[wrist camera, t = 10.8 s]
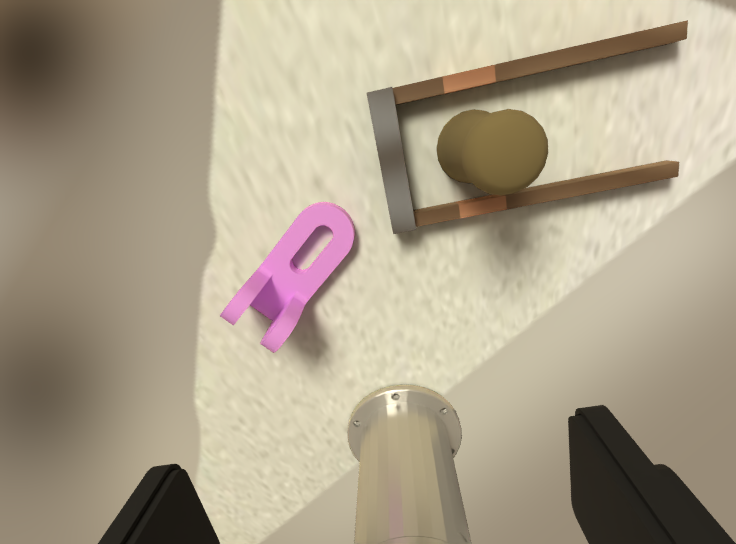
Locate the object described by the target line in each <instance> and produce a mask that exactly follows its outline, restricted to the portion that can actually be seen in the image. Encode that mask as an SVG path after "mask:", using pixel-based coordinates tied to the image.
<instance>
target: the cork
mask: <svg viewBox="0 0 736 544" xmlns="http://www.w3.org/2000/svg"><path fill="white" fill-rule="evenodd" d="M437 155H438V161H439V163H440V165H441V167H442V169H443V170H444V171H445V172H446V173H447V174H448V176H449V177H451V178H453V179H455V180H457V181H459V182H465V183H473V184H474V185H475V186H476V187H477V188H478V189H480V190H482V191H484V192H486V193H488V194H494V195H506V194H512V193H516V192H518V191H520V190H522V189H524V188H526V187H528V186H529V185H530V184H531V183H532V182H533V181H534V180H535V179H536V178H538V176H539V174H540V173H541V171H542V169H543V168H544V166H545V163H546V159H547V155H548V139H547V137H546V134H545V132H544V129H543V127H542V126H541V125H540V124H539V123H538V122H537V120H536V119H535V118H534V117H532V116H530V115H528V114H527V113H525V112H523V111H518V110H511V109H507V110H502V111H497V112H492V113H489V112H487V111H482V110H475V109H474V110H469V111H464V112H461V113H460V114H458V115H456V116H454V117H453V118H452V119H451V120H450V121H449V122H448V123H447V124H446V125H445V126H444V128H443V130H442V131H441V133H440V135H439V138H438V144H437Z"/></svg>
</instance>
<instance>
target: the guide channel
mask: <svg viewBox="0 0 736 544" xmlns="http://www.w3.org/2000/svg"><path fill="white" fill-rule="evenodd" d="M687 25H688V20H687V21H683V22H679V23H674V24H670V25H666V26H661V27H657V28H653V29H648V30H644V31H639V32H635V33H631V34H626V35H622V36H618V37H613V38H609V39H605V40H600V41H596V42H592V43H587V44H583V45H578V46H574V47H570V48H565V49H561V50H557V51H552V52H548V53H544V54H539V55H535V56H530V57H526V58H522V59H517V60H513V61H509V62H504V63H500V64H496V65H491V66H487V67H483V68H478V69H474V70H469V71H465V72H461V73H456V74H452V75H448V76H443V77H439V78H435V79H430V80H426V81H421V82H417V83H413V84H408V85H404V86H400V87H395V88H392V87H390V88H386V89H381V90H377V91H373V92H368V93H367V97H368V103H369V108H370V113H371V119H372V124H373V129H374V134H375V140H376V145H377V150H378V156H379V161H380V166H381V171H382V177H383V182H384V187H385V193H386V198H387V203H388V208H389V214H390V219H391V224H392V230H393V234H396V233H402V232H407V231H412V230H416V227H418V226H423V225H428V224H433V223H439V222H444V221H449V220H454V219H460V218H465V217H470V216H475V215H480V214H486V213H491V212H496V211H501V210H506V209H512V208H517V207H522V206H527V205H533V204H538V203H543V202H548V201H553V200H559V199H564V198H569V197H574V196H579V195H585V194H590V193H595V192H600V191H606V190H611V189H616V188H621V187H626V186H632V185H637V184H642V183H647V182H652V181H658V180H663V179H668V178H673V177H678V172H679V162H676V161H661V162H656V163H651V164H646V165H641V166H636V167H631V168H626V169H621V170H616V171H611V172H605V173H600V174H595V175H590V176H585V177H580V178H575V179H570V180H565V181H560V182H554V183H549V184H544V185H539V186H534V187H529V188H524V189H522V190H520V191H518V192H516V193H512V194H506V195H494V194H493V195H488V196H483V197H478V198H473V199H468V200H463V201H458V202H453V203H447V204H442V205H437V206H432V207H427V208H422V209H417V210H413V208H412V202H411V196H410V190H409V184H408V178H407V172H406V166H405V160H404V154H403V148H402V142H401V136H400V130H399V124H398V118H397V112H396V107H395V105H399V104H403V103H408V102H412V101H417V100H421V99H426V98H430V97H434V96H439V95H443V94H448V93H452V92H457V91H461V90H466V89H470V88H474V87H479V86H483V85H488V84H492V83H497V82H501V81H506V80H510V79H515V78H519V77H523V76H528V75H532V74H537V73H541V72H546V71H550V70H555V69H559V68H563V67H568V66H572V65H577V64H581V63H586V62H590V61H595V60H599V59H604V58H608V57H612V56H617V55H621V54H626V53H630V52H635V51H639V50H644V49H648V48H652V47H657V46H661V45H666V44H670V43H674V42H678V41H681V40H684V39H687Z"/></svg>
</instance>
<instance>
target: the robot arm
mask: <svg viewBox="0 0 736 544" xmlns="http://www.w3.org/2000/svg"><path fill="white" fill-rule="evenodd" d="M568 420H569V421H568V423H569V424H568V425H569V450H570V475H571V476H570V477H571V501H572V507H573V510H574V513H575V516H576V519H577V520H578V523H579V525H580V527H581V529H582V531H583V533H584V535H585V537H586V539H587V541H588V543H589V544H736V543H735V542H734V541H733V540H732V539H731V538H730V537H729V535H728V534H727V533H726V532H725V530H724V529H723V528H722V527H721V526H720V525H719V523H718V522H717V521H716V520H715V519H714V518H713V516H712V515H711V514H710V513H709V512H708V511H707V509H706V508H705V507H704V506H703V505H702V504H701V503H700V501H699V500H698V499H697V498H696V497H695V495H694V494H693V493H692V492H691V491H690V490H689V488H688V487H687V486H686V485H685V484H684V483H683V481H682V480H681V479H680V478H679V477H678V476H677V474H675V472H673V471H672V470H671V469H670V468H669V467H667V466H666V465H663V464H658V465H653V463H652V462H651V461H650V460H649V459H648V457H647V456H646V455H645V454H644V452H643V451H642V450H641V449H640V448H639V446H638V445H637V444H636V443H635V441H634V440H633V439H632V438H631V436H630V435H629V434H628V433H627V431H626V430H625V429H624V428H623V426H622V425H621V424H620V423H619V422H618V420H617V419H616V418H615V417H614V415H613V414H612V413H611V412H610V410H609V409H608V408H607V407H606V406H604V405H600V406H592V407H585V408H578V409H576V411H575V416H570V417H569V419H568ZM461 439H462V435H461V426H460V422H459V418H458V416H457V413H456V411H455V410H454V408H453V407H452V405H451V404H450V403H449V402H448V401H447V400H446V399H444V397H442V396H441V395H439V394H437V393H436V392H434V391H432V390H429V389H427V388H424V387H419V386H415V385H395V386H389V387H385V388H382V389H379V390H377V391H375V392H373V393H371V394H369V395H368V396H367V397H365V398H364V399H363V400H362V401H361V402H360V403H359V404H358V405H357V406H356V407H355V409H354V411H353V412H352V414H351V417H350V420H349V425H348V442H349V446H350V449H351V451H352V453H353V455H354V456H355V458H356V459H357V460H358V461H359V462H360V463H359V478H358V493H357V508H356V523H355V537H354V544H471V540H470V534H469V530H468V525H467V520H466V516H465V511H464V507H463V502H462V497H461V493H460V488H459V484H458V479H457V474H456V470H455V465H454V460H453V458H454V456H455V455H456V454H457V451H458V449H459V447H460V443H461ZM98 544H220V542H219V540H218V537H217V535H216V533H215V531H214V529H213V527H212V525H211V522H210V520H209V518H208V516H207V514H206V512H205V510H204V508H203V505H202V503H201V501H200V499H199V497H198V495H197V493H196V491H195V488H194V486H193V484H192V482H191V480H190V478H189V476H188V473H187V472H186V470H184V469H181V467H180V466H179V465H177V464H170V465H162V466H156V467H152V468H151V469H150V470H149V471H148V472H147V473H146V474H145V476H144V477H143V479H142V480H141V482H140V483H139V485H138V486H137V488H136V489H135V490H134V492H133V493H132V495H131V496H130V498H129V499H128V501H127V502H126V504H125V505H124V506H123V508H122V509H121V511H120V513H119V514H118V515H117V517H116V518H115V520H114V521H113V522H112V524H111V525H110V527H109V528H108V530H107V531H106V533H105V534H104V536H103V537H102V539H101V540H100V542H99V543H98Z"/></svg>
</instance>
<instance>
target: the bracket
mask: <svg viewBox="0 0 736 544" xmlns="http://www.w3.org/2000/svg"><path fill="white" fill-rule="evenodd" d="M320 225H325V226H328V227H329V228H330V229H331V230H332V232H333V238H332V240H331V241H330V242H329V243H328V245H327V246H326V247H325V248H324V249H323V251H322V252H321V253H320V254H319V256H318V257H317V258H316V259H315V261H314V262H313V263H312V264H311V265H310V267H309V268H307V269H305V270H301V269H298V268H296V267H295V266H294V264H293V261H292V258H293V256H294V255H295V254H296V252H297V251H298V250H299V248H300V247H301V246H302V245H303V243H304V242H305V241H306V240H307V238H308V237H309V236H310V234H311V233H312V232H313V231H314V229H315V228H316V227H318V226H320ZM354 235H355V229H354V224H353V221H352V219H351V217H350V216H349V214H348V213H347V212H346V211H345V210H344V209H343V208H341V207H340V206H338V205H336V204H333V203H329V202H319V203H315V204H312V205H310V206H308V207H307V208H305V209H304V210H303V211H302V212H301V213H300V214H299V216H298V217H297V218H296V220H295V221H294V222H293V223H292V225H291V226H290V227H289V229H288V230H287V231H286V233H285V234H284V235H283V237H282V238H281V239H280V241H279V242H278V243H277V244H276V246H275V247H274V248H273V250H272V251H271V252H270V254H269V255H268V256H267V258H266V259H265V260H264V262H263V263H262V264H261V265H260V267H259V268H258V269H257V270H256V272H255V273H254V274H253V275H252V276H251V277H250V278H249V279H248V281H247V282H246V283H245V284H244V285H243V286H242V288H241V289H240V290H239V291H238V292H237V294H236V295H235V296H234V297H233V299H232V300H231V301H230V302H229V304H228V305H227V306H226V308H225V309H224V310H223V312H222V313H221V315H220V317H222V318H223V319H225V320H226V321H228V322H229V323H231V324H232V325H234V324H235V323H236V322H237V320H238V319H239V318H240V317H241V315H242V314H243V313H244V311H245V310H246V309H247V308H248V306H249V305H250V306H252V307H253V308H255V309H256V310H258V311H259V312H260V313H262V314H263V315H265V316H266V317H268V318H269V319H270V320H272V323H271V325H270V327H269V328H268V330H267V332H266V334H265V335H264V337H263V339H262V341H261V343H260V344H261V345H263V346H264V347H266V348H267V349H269V350H270V351H272V352H273V353H274V352H276V351H277V350H278V349H279V348H280V347H281V345H282V344H283V343H284V342H285V340H286V339H287V338H288V336H289V335H290V334H291V332H292V331H293V329H294V328H295V326H296V324H297V322H298V320H299V318H300V316H301V313H302V311H303V309H304V306H305V304H306V303H307V301H308V300H309V299H310V298H311V296H312V295H313V294H314V293H315V292H316V291H317V289H318V288H319V287H320V286H321V285H322V283H323V282H324V281H325V280H326V279H327V277H328V276H329V275H330V274H331V273H332V271H333V270H334V269H335V268H336V267H337V266H338V264H339V263H340V262H341V261H342V260H343V258H344V257H345V256H346V255H347V254H348V252H349V251H350V249H351V247H352V244H353V241H354Z"/></svg>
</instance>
